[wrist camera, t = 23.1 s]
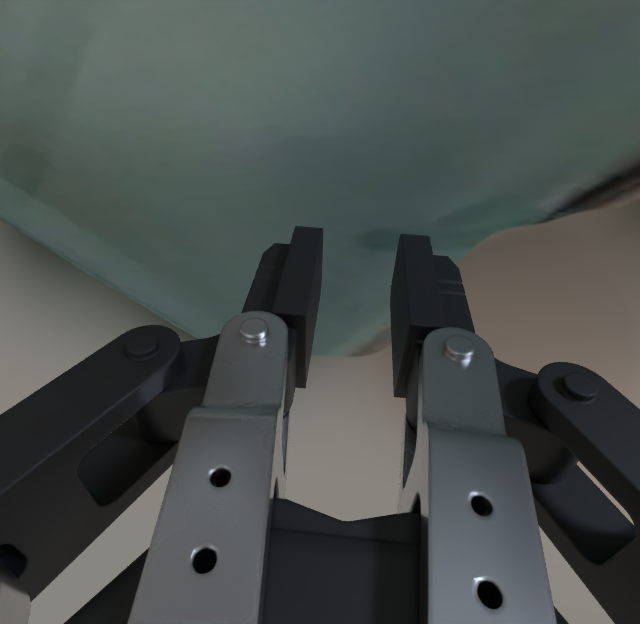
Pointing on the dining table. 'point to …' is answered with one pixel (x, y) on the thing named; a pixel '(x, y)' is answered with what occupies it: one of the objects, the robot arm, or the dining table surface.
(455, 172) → the dining table surface
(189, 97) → the dining table surface
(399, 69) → the dining table surface
